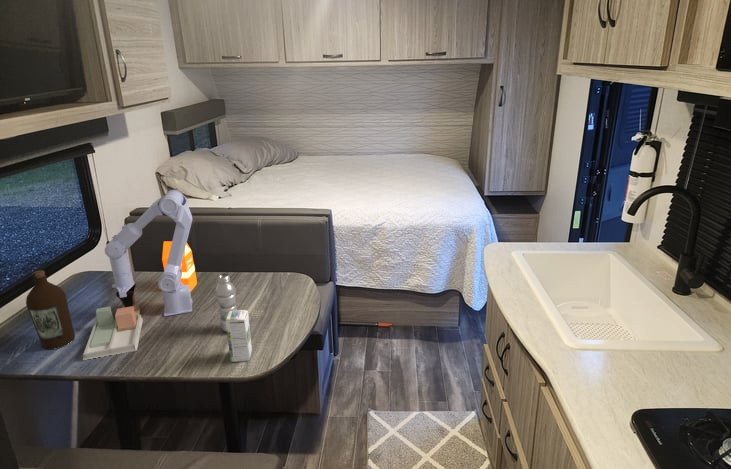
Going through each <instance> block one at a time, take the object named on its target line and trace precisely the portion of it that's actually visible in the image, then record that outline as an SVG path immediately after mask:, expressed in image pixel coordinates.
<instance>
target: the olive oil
mask: <svg viewBox="0 0 731 469" xmlns="http://www.w3.org/2000/svg"><path fill="white" fill-rule="evenodd" d="M31 275H32V279H33V283H34V286H33V287H32V288H31V289H30V291H28V293H27V295H26V298H25V305H26V309H27V312H28V314H29V316H30V318H31V320H32V323H33V326H34V329H35V331H36V333H37V336H38V340H39V343H40V345H41V348H43V349H45V350H55V349H54V348H57V349H59V348H58V347H61V348H63V347H65V346H64V345H66V346H67V344H68V343H69V344H71V343H72V342H73V341H75V339H76V334H75V330H74V325H73V323H72V317H71V313H70V309H69V303H68V299H67V295H66V293H65V291H64V290H63V288H61V287H60V286H58V285H56V284H53V283H52V282H49V281H48V279H47V275H46V274H45V270H43V269H42V270H35V271H34V272H32V273H31ZM74 338H75V339H74ZM71 341H72V342H71ZM70 342H71V343H70ZM69 344H68V345H69ZM62 346H63V347H62Z"/></svg>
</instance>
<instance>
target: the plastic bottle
mask: <svg viewBox="0 0 731 469" xmlns="http://www.w3.org/2000/svg"><path fill="white" fill-rule="evenodd" d="M214 293H215V297H216V299H217V302H218V307H219V316H220V321H219V322H220V323H219V325H220V328H221V330H223V331H224V332H226V333H227V330H226V322H225V321H226V319H227V316H228V313H229V311H234V310H238V308H237V300H236V299H237V298H236V297H237V296H236V295H237V291H236V286H235V284H233V283H232V282H231V277H230V274H229V273H227V272H225V273H224V272H223V273H220V274H218V275H217V285H216V288H215V292H214Z"/></svg>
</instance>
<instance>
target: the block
mask: <svg viewBox="0 0 731 469" xmlns="http://www.w3.org/2000/svg"><path fill="white" fill-rule="evenodd" d="M114 318H115V320H116V322H117V326H118V329H122V328H127V327H133V326H135V322H136V316H135V311H134V307H133V306H131V307H125V308H123V307H120V308H117V309H116V311H115V315H114Z"/></svg>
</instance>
